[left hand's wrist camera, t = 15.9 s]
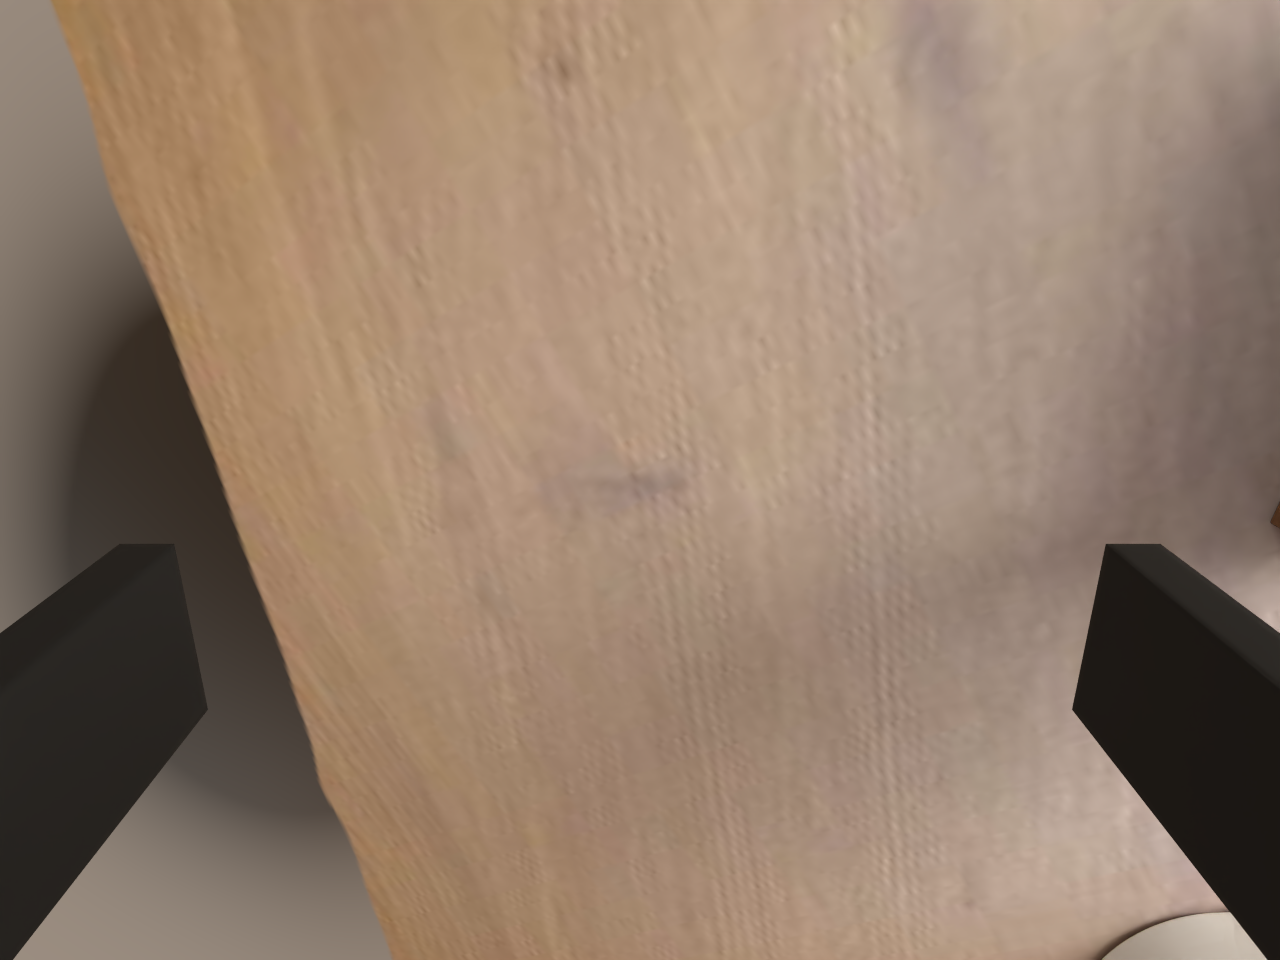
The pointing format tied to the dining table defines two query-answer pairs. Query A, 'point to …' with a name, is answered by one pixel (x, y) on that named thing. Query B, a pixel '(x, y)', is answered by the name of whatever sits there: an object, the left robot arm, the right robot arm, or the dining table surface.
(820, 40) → the dining table surface
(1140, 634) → the left robot arm
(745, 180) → the dining table surface
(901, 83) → the dining table surface
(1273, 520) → the bar
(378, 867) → the dining table surface
